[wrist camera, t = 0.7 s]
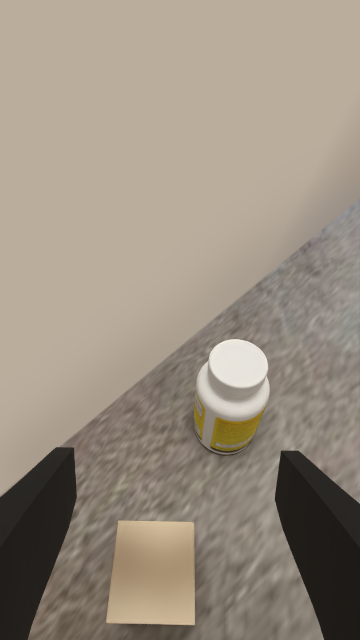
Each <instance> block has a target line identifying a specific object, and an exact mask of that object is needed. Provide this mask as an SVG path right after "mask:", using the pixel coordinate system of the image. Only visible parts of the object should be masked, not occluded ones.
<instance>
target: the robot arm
mask: <svg viewBox="0 0 360 640" xmlns="http://www.w3.org/2000/svg"><path fill="white" fill-rule="evenodd" d="M76 498H77V494H76V477H75V460H74V448H64V447H56V448H55V449H54V450H53V451H51V452H50V453H49V454H48V455H47V456H46V457H45V458H44V459H43V460H42V461H40V462H39V463H38V464H37V465H36V466H35V467H34V468H33V469H32V470H31V471H30V472H29V473H27V474H26V475H25V476H24V477H23V478H22V479H21V480H20V481H19V482H17V483H16V484H15V485H14V486H13V487H12V488H11V489H10V490H8V491H7V492H6V493H5V494H4V495H2V496H1V497H0V640H27V639H28V636H29V633H30V629H31V626H32V623H33V620H34V617H35V614H36V611H37V609H38V606H39V603H40V600H41V598H42V595H43V593H44V590H45V588H46V585H47V582H48V580H49V577H50V575H51V572H52V570H53V567H54V564H55V562H56V559H57V557H58V554H59V552H60V549H61V546H62V544H63V541H64V539H65V536H66V533H67V531H68V528H69V524H70V521H71V517H72V513H73V509H74V506H75V502H76ZM275 502H276V506H277V510H278V513H279V517H280V521H281V524H282V528H283V531H284V534H285V536H286V539H287V541H288V544H289V546H290V549H291V552H292V554H293V557H294V559H295V562H296V564H297V567H298V569H299V572H300V574H301V577H302V579H303V582H304V584H305V587H306V589H307V592H308V594H309V597H310V599H311V602H312V604H313V607H314V610H315V613H316V616H317V618H318V621H319V624H320V627H321V631H322V634H323V637H324V640H360V504H359V503H358V502H357V501H356V500H355V499H353V498H352V497H351V496H350V495H348V494H347V493H346V492H345V491H344V490H343V489H341V488H340V487H339V486H338V485H337V484H336V483H334V482H333V481H332V480H331V479H330V478H329V477H328V476H326V475H325V474H324V473H323V472H322V471H321V470H320V469H319V468H317V467H316V466H315V465H314V464H313V463H312V462H311V461H310V460H309V459H307V458H306V457H305V456H304V455H303V454H302V453H300V452H299V451H281V456H280V463H279V471H278V478H277V486H276V493H275Z"/></svg>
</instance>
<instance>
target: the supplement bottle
mask: <svg viewBox="0 0 360 640" xmlns="http://www.w3.org/2000/svg"><path fill="white" fill-rule="evenodd" d="M267 372H268V362H267V359H266V357H265V355H264V353H263V352H262V351H261V350H260V349H259V348H258V347H257V346H255V345H254V344H252V343H250V342H247V341H244V340H238V339H232V340H227V341H223V342H221V343H219V344H218V345H217V346H215V347H214V349H213V350H212V352H211V353H210V356H209V361H208V362H206V363H205V364H204V366H203V367H202V368H201V370H200V372H199V374H198V378H197V383H196V394H195V407H194V430H195V433H196V435H197V437H198V439H199V441H200V442H201V443H202V444H203V445H204V446H205V447H206V448H208V449H209V450H211V451H213V452H215V453H218V454H225V455H229V454H235V453H237V452H240V451H242V450H243V449H244V448H246V447H247V446H248V445H249V443H250V442H251V440H252V438H253V436H254V434H255V432H256V429H257V427H258V424H259V422H260V419H261V417H262V414H263V412H264V409H265V407H266V404H267V402H268V398H269V393H270V386H269V381H268V379H267V376H266V375H267Z"/></svg>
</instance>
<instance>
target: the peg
mask: <svg viewBox="0 0 360 640" xmlns="http://www.w3.org/2000/svg"><path fill="white" fill-rule="evenodd" d="M106 623H128V624H171V625H195V576H194V522H158V521H118V529H117V537H116V546H115V554H114V562H113V570H112V578H111V586H110V594H109V603H108V611H107V619H106Z"/></svg>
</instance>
